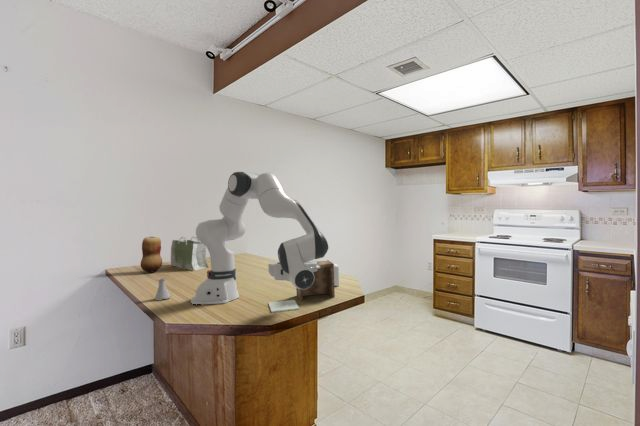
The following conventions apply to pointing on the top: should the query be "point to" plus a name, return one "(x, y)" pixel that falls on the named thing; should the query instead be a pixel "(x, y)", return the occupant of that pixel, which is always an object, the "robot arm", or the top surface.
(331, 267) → the shelf cubby
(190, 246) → the grocery bag
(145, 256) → the butternut squash
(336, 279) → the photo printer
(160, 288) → the flask
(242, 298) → the top surface
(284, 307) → the plate
